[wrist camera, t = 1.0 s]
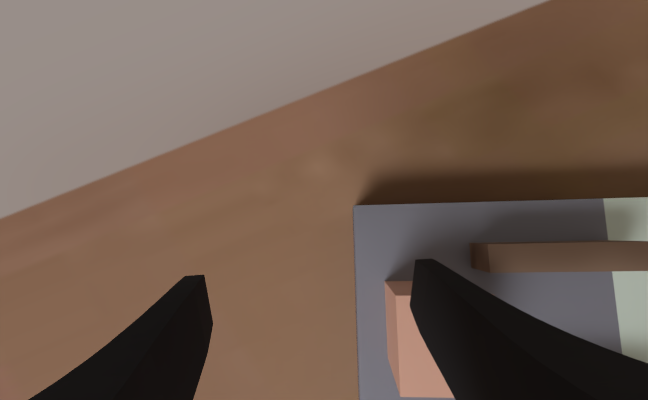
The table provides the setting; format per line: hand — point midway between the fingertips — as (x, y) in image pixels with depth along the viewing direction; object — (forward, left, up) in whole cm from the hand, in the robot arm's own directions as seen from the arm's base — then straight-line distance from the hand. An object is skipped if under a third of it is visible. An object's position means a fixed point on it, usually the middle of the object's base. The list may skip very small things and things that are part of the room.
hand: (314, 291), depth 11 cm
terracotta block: (-3, -6, -9) cm, 11 cm away
